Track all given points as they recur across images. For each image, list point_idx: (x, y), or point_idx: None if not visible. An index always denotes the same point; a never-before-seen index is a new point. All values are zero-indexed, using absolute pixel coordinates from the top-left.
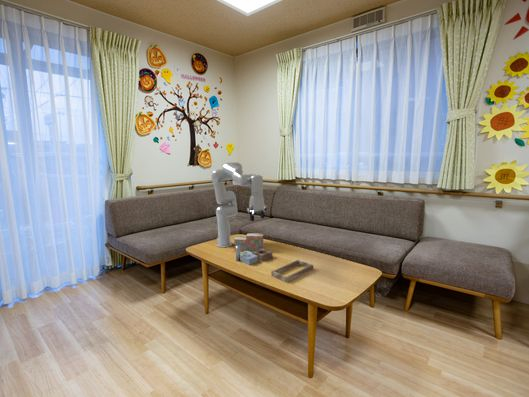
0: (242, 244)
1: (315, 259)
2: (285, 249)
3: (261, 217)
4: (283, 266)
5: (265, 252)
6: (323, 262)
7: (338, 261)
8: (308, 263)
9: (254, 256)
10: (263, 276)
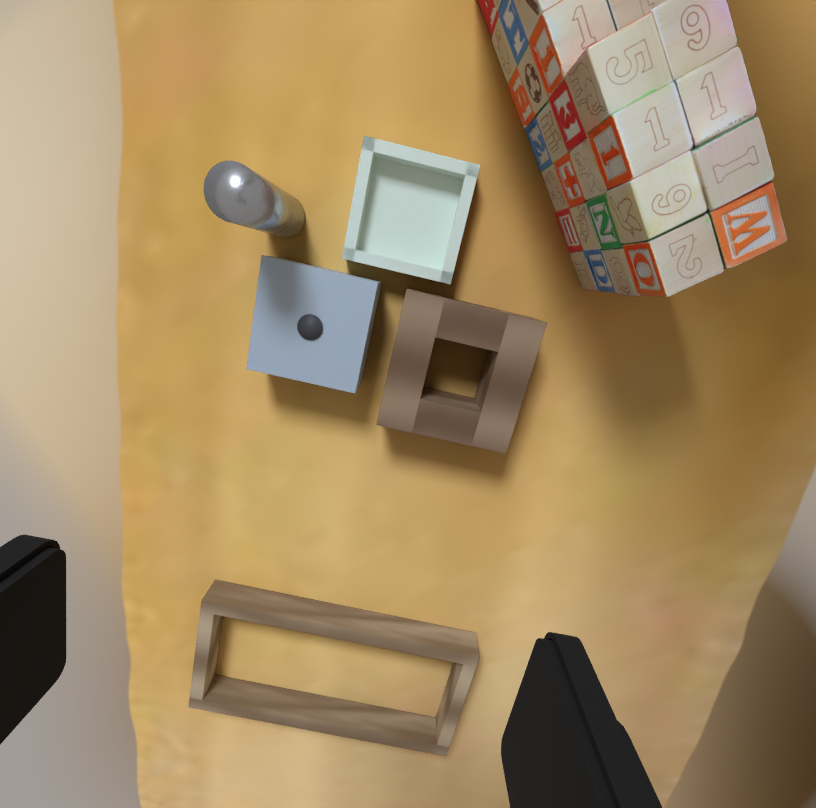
0: (524, 51)
1: None
2: (723, 442)
3: (530, 681)
4: (318, 627)
5: (464, 408)
6: None
7: None
8: (452, 728)
9: (325, 376)
10: (178, 544)
